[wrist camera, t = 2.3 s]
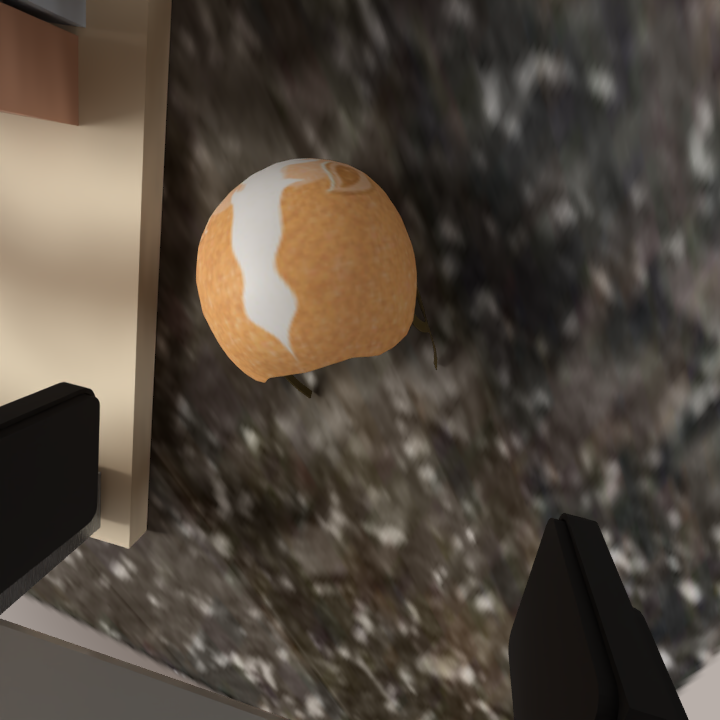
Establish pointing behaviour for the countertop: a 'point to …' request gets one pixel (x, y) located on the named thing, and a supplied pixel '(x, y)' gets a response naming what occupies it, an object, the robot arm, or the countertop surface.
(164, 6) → the book rack
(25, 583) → the bookend
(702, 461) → the countertop surface
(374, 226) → the helmet
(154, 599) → the countertop surface
